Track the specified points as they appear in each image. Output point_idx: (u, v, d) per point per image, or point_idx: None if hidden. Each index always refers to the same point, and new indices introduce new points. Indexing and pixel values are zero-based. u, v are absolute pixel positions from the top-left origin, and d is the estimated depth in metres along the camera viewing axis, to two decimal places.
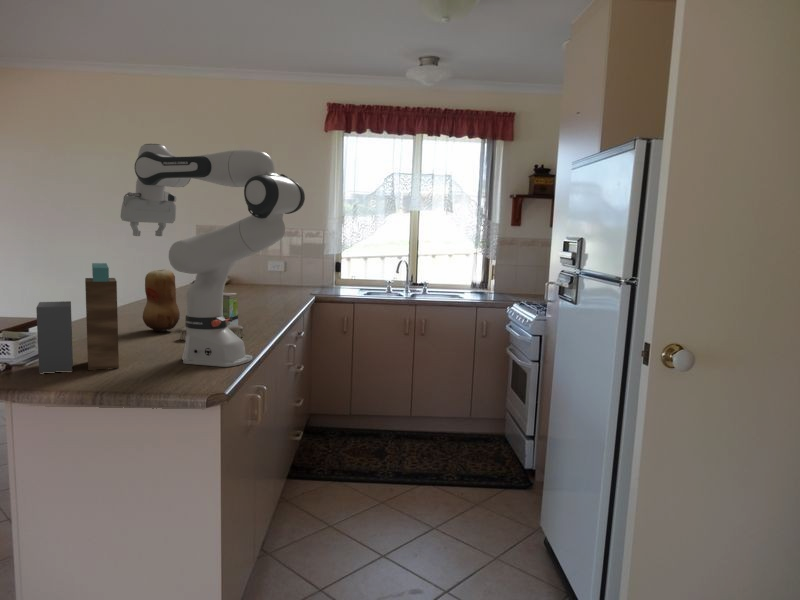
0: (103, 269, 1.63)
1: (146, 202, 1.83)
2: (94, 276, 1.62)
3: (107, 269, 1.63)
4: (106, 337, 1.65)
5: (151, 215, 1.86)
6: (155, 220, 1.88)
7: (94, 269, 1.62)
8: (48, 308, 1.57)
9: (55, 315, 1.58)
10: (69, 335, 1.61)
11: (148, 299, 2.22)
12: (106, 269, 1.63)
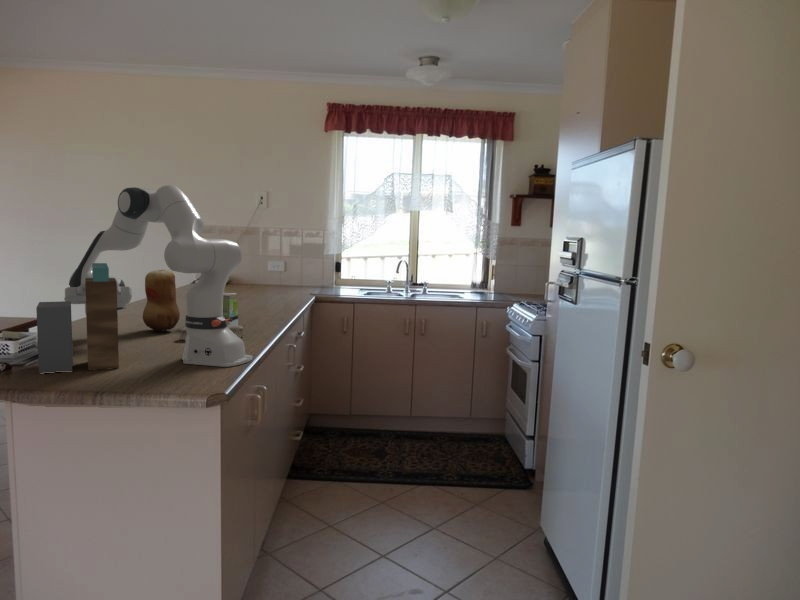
0: (103, 269, 1.63)
1: None
2: (94, 276, 1.62)
3: (107, 269, 1.63)
4: (106, 337, 1.65)
5: None
6: None
7: (94, 269, 1.62)
8: (48, 308, 1.57)
9: (55, 315, 1.58)
10: (69, 335, 1.61)
11: (148, 299, 2.22)
12: (106, 269, 1.63)
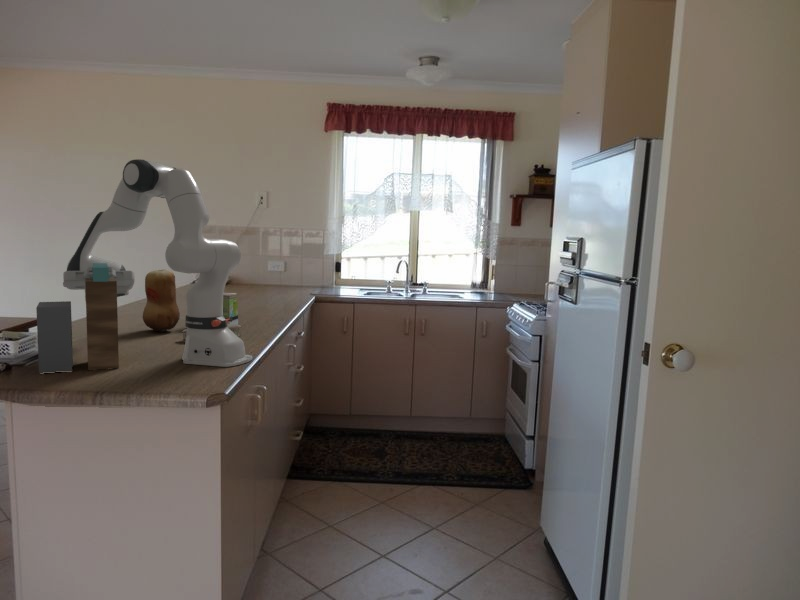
0: (103, 269, 1.63)
1: None
2: (94, 276, 1.62)
3: (107, 269, 1.63)
4: (106, 337, 1.65)
5: None
6: None
7: (94, 269, 1.62)
8: (48, 308, 1.57)
9: (55, 315, 1.58)
10: (69, 335, 1.61)
11: (148, 299, 2.22)
12: (106, 269, 1.63)
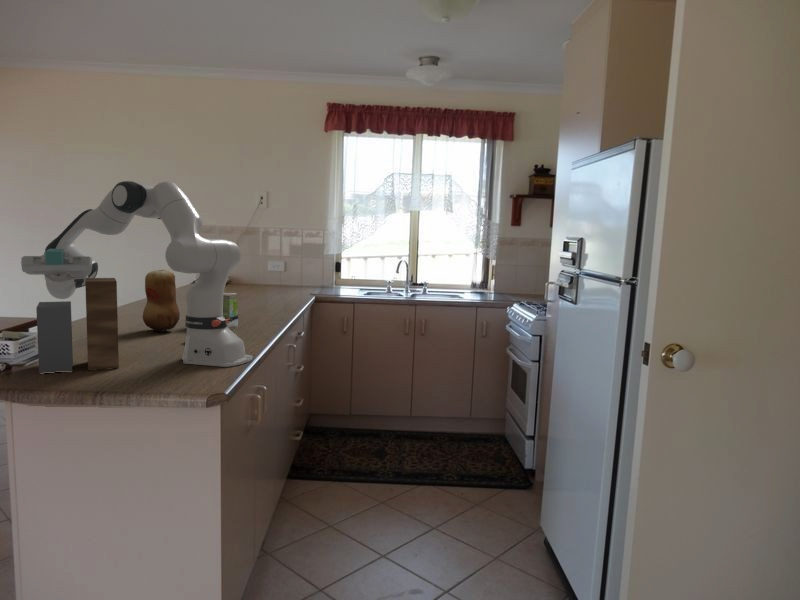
0: (56, 253, 1.69)
1: None
2: (47, 259, 1.68)
3: (60, 253, 1.69)
4: (106, 337, 1.65)
5: None
6: None
7: (47, 253, 1.67)
8: (48, 308, 1.57)
9: (55, 315, 1.58)
10: (69, 335, 1.61)
11: (148, 299, 2.22)
12: (59, 253, 1.69)
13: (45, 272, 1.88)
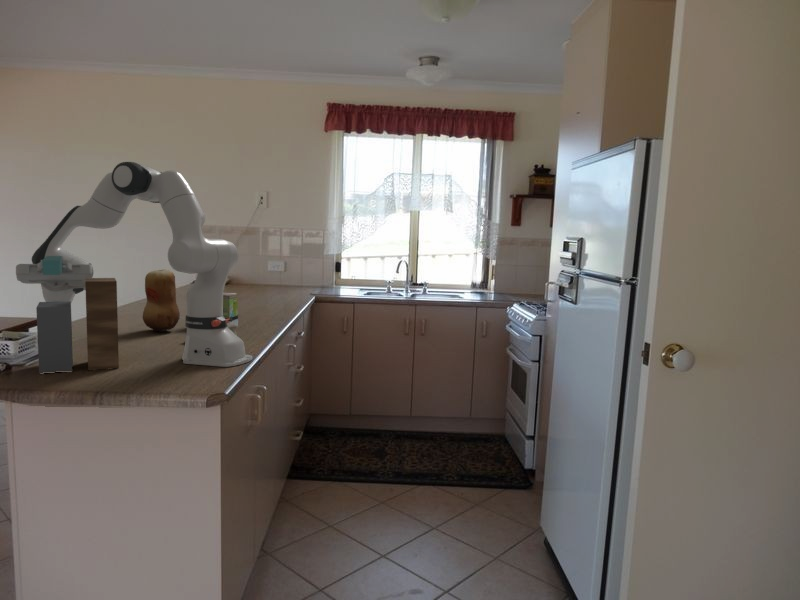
0: (53, 262, 1.55)
1: None
2: (44, 269, 1.54)
3: (58, 262, 1.55)
4: (106, 337, 1.65)
5: None
6: None
7: (44, 262, 1.54)
8: (48, 308, 1.57)
9: (55, 315, 1.58)
10: (69, 335, 1.61)
11: (148, 299, 2.22)
12: (57, 262, 1.55)
13: (42, 281, 1.75)
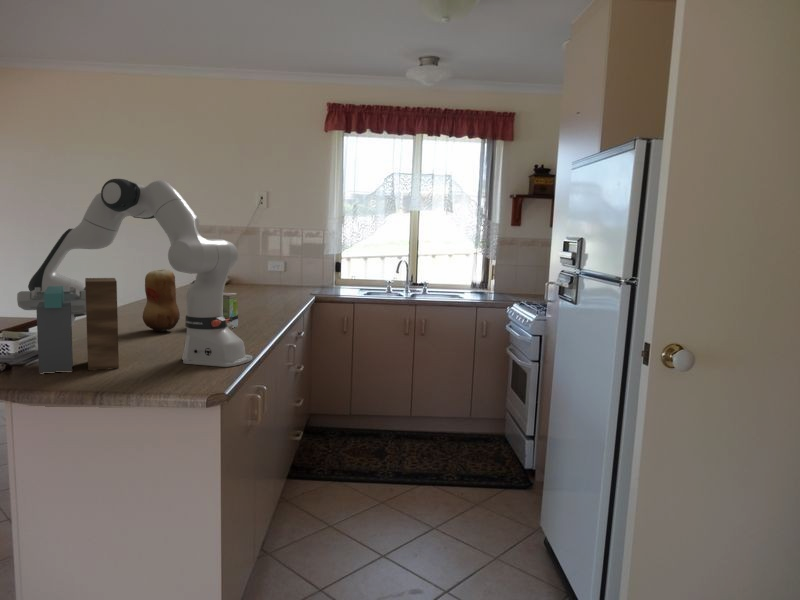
0: (55, 295, 1.56)
1: None
2: (45, 302, 1.55)
3: (59, 295, 1.57)
4: (106, 337, 1.65)
5: None
6: None
7: (45, 295, 1.55)
8: (48, 308, 1.57)
9: (55, 315, 1.58)
10: (69, 335, 1.61)
11: (148, 299, 2.22)
12: (58, 295, 1.56)
13: None
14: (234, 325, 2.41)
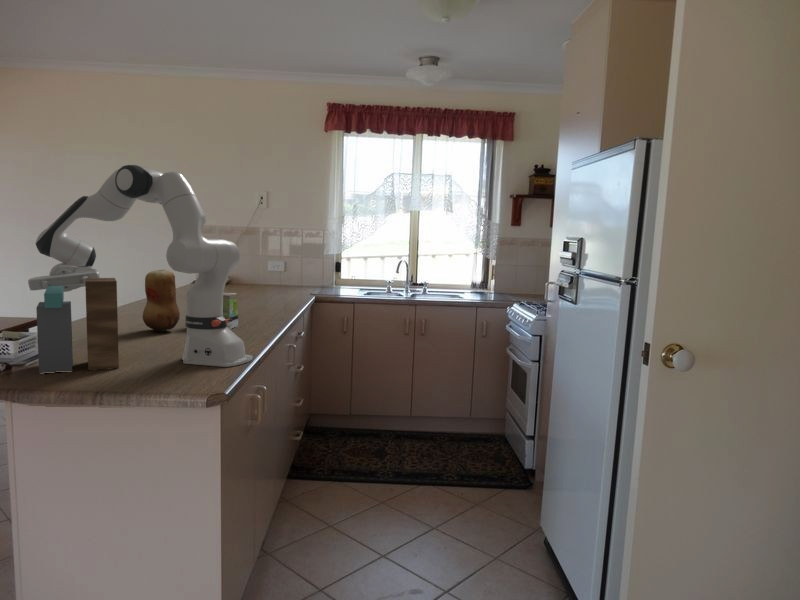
0: (55, 295, 1.56)
1: (52, 275, 1.87)
2: (45, 302, 1.55)
3: (59, 295, 1.57)
4: (106, 337, 1.65)
5: (61, 275, 1.85)
6: (68, 275, 1.85)
7: (45, 295, 1.55)
8: (48, 308, 1.57)
9: (55, 315, 1.58)
10: (69, 335, 1.61)
11: (148, 299, 2.22)
12: (58, 295, 1.56)
13: None
14: (234, 325, 2.41)
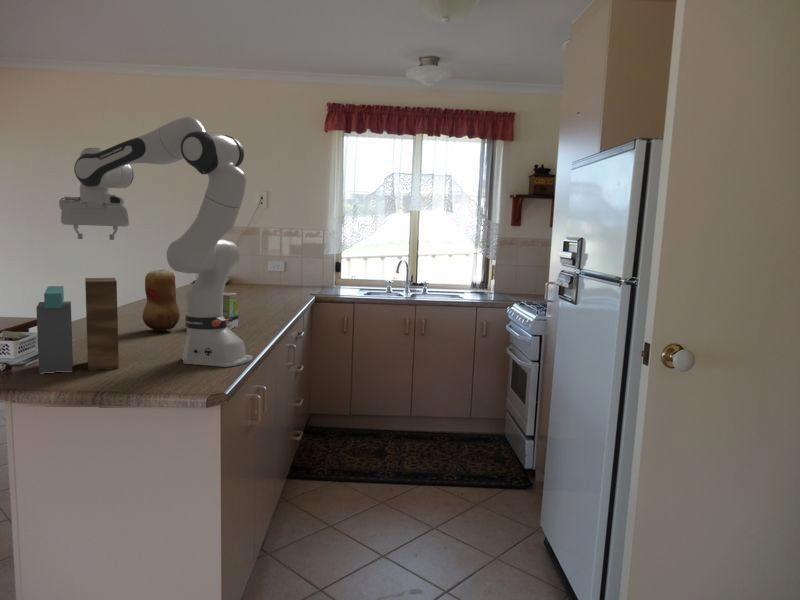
0: (55, 295, 1.56)
1: (84, 205, 1.87)
2: (45, 302, 1.55)
3: (59, 295, 1.57)
4: (106, 337, 1.65)
5: (93, 217, 1.89)
6: (99, 223, 1.90)
7: (45, 295, 1.55)
8: (48, 308, 1.57)
9: (55, 315, 1.58)
10: (69, 335, 1.61)
11: (148, 299, 2.22)
12: (58, 295, 1.56)
13: None
14: (234, 325, 2.41)
